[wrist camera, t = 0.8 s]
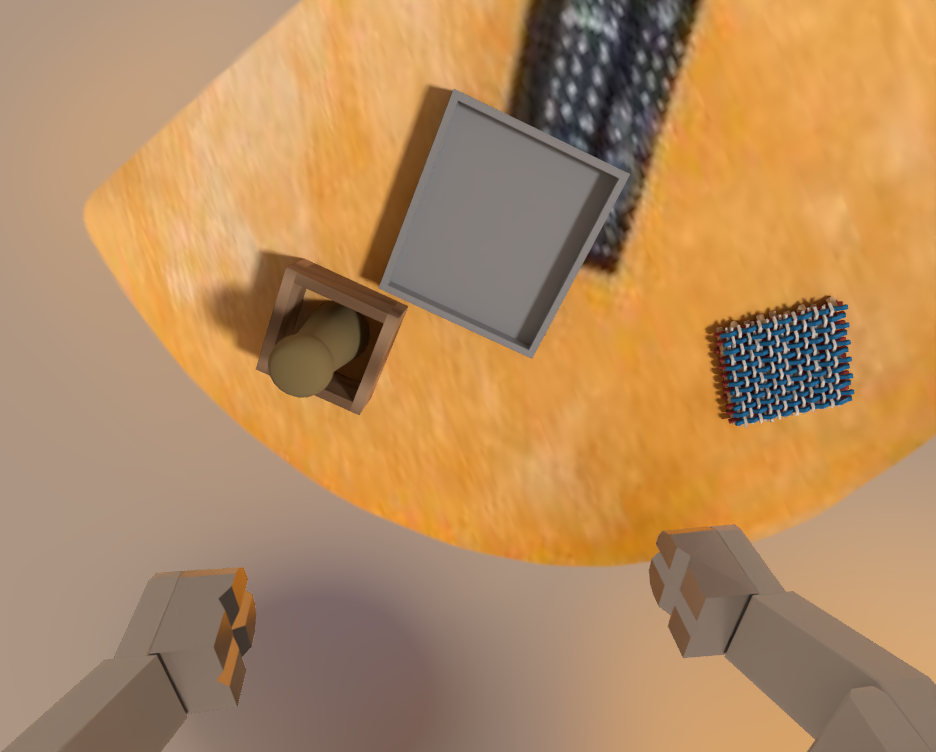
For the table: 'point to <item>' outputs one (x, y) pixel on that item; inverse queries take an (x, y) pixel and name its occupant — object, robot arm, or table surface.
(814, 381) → the woven mat
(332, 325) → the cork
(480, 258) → the tray
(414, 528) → the table surface
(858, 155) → the table surface
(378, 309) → the holder
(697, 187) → the table surface
